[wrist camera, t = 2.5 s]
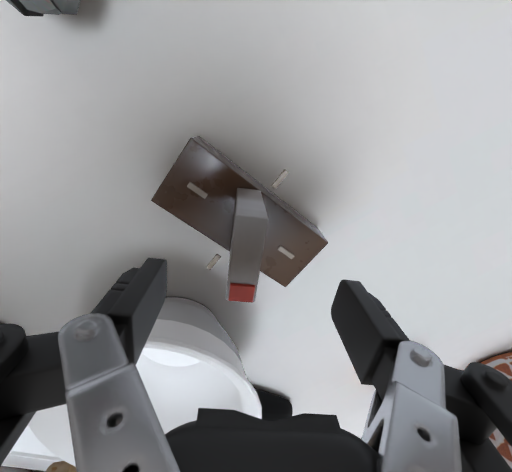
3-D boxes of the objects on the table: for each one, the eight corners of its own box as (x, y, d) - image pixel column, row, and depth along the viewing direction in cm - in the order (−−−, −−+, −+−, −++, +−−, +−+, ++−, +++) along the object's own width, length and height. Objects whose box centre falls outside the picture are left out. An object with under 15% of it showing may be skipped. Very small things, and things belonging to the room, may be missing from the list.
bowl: (64, 275, 22) (-33, 359, 14) (245, 253, 22) (247, 324, 14) (124, 393, 28) (80, 494, 21) (263, 375, 28) (271, 470, 21)
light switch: (-10, 442, 30) (150, 465, 35) (-26, 462, 28) (146, 484, 33) (3, 383, 27) (178, 418, 32) (-13, 402, 25) (174, 435, 30)
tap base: (150, 210, 20) (134, 225, 17) (214, 109, 17) (209, 106, 15) (265, 283, 24) (269, 305, 21) (334, 209, 21) (349, 222, 18)
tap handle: (237, 187, 17) (235, 216, 11) (260, 190, 17) (269, 220, 12) (229, 253, 19) (225, 303, 13) (251, 255, 19) (254, 306, 14)
